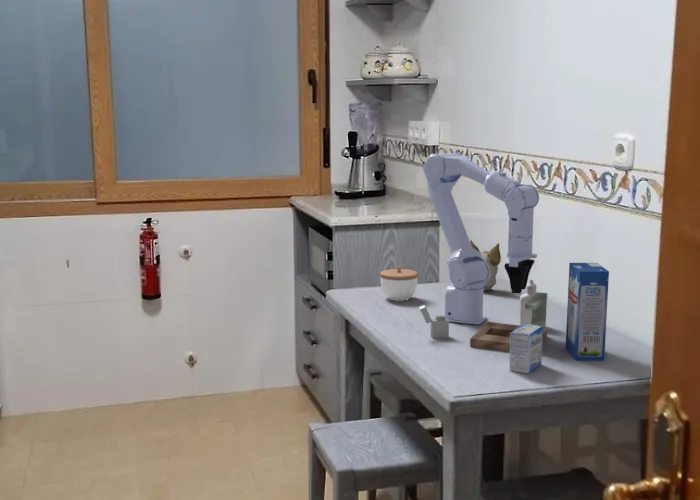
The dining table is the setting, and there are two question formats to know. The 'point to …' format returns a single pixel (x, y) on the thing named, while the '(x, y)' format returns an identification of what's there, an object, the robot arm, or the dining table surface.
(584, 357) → the milk carton
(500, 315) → the dining table surface
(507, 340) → the socket board
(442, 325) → the lighter
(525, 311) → the eye dropper bottle
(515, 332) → the medicine box
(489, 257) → the ceramic sculpture
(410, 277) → the lidded jar
